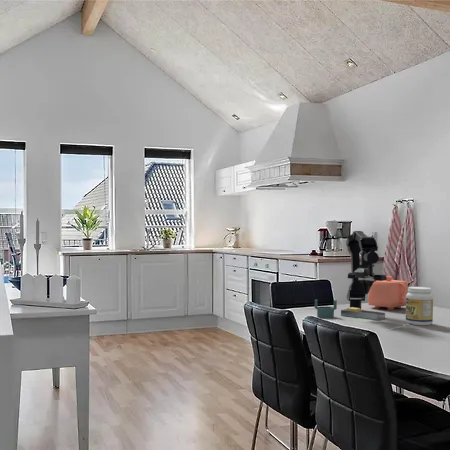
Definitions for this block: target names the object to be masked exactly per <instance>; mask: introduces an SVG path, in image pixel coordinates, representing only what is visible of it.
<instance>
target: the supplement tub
mask: <svg viewBox="0 0 450 450" xmlns="http://www.w3.org/2000/svg"><path fill="white" fill-rule="evenodd" d="M433 321H434V296H433V294H432V287H428V286H427V287H426V286H408V293H407V295H406V306H405V322H406V323H408V324H409V325H413V326H431V325H432V324H433Z"/></svg>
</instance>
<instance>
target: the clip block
mask: <svg viewBox="0 0 450 450" xmlns="http://www.w3.org/2000/svg"><path fill="white" fill-rule="evenodd" d="M346 309H347V311H355V312H361V310H362V307H361V308H354V307H350V306H349V307H347V308H346Z"/></svg>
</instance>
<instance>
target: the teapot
mask: <svg viewBox="0 0 450 450" xmlns="http://www.w3.org/2000/svg"><path fill="white" fill-rule="evenodd" d="M386 277H387V280H385V281H374V283H373V285H372V286H371V288H370V290H369V293H368V294H367V303H368V304H367V305H368V306H374V309H381V308H386V310H387V311H394V310H395V309H396V308H402V309H403V307H406V295H407V293H409V291H408V287H409V285H408V284H409V283H408V280H399V279H397V280H396V279H393V276H390V275H386ZM394 308H395V309H394Z"/></svg>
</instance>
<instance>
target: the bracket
mask: <svg viewBox="0 0 450 450" xmlns="http://www.w3.org/2000/svg"><path fill="white" fill-rule="evenodd" d="M337 301H338V300H336V299H334V300H333V306H323V305H322V306H318V299H314V309H315V310H316V311H317V312H316V318H321V319H332V318H335V310H337V309H338V308H337V305H338V303H337Z"/></svg>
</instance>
